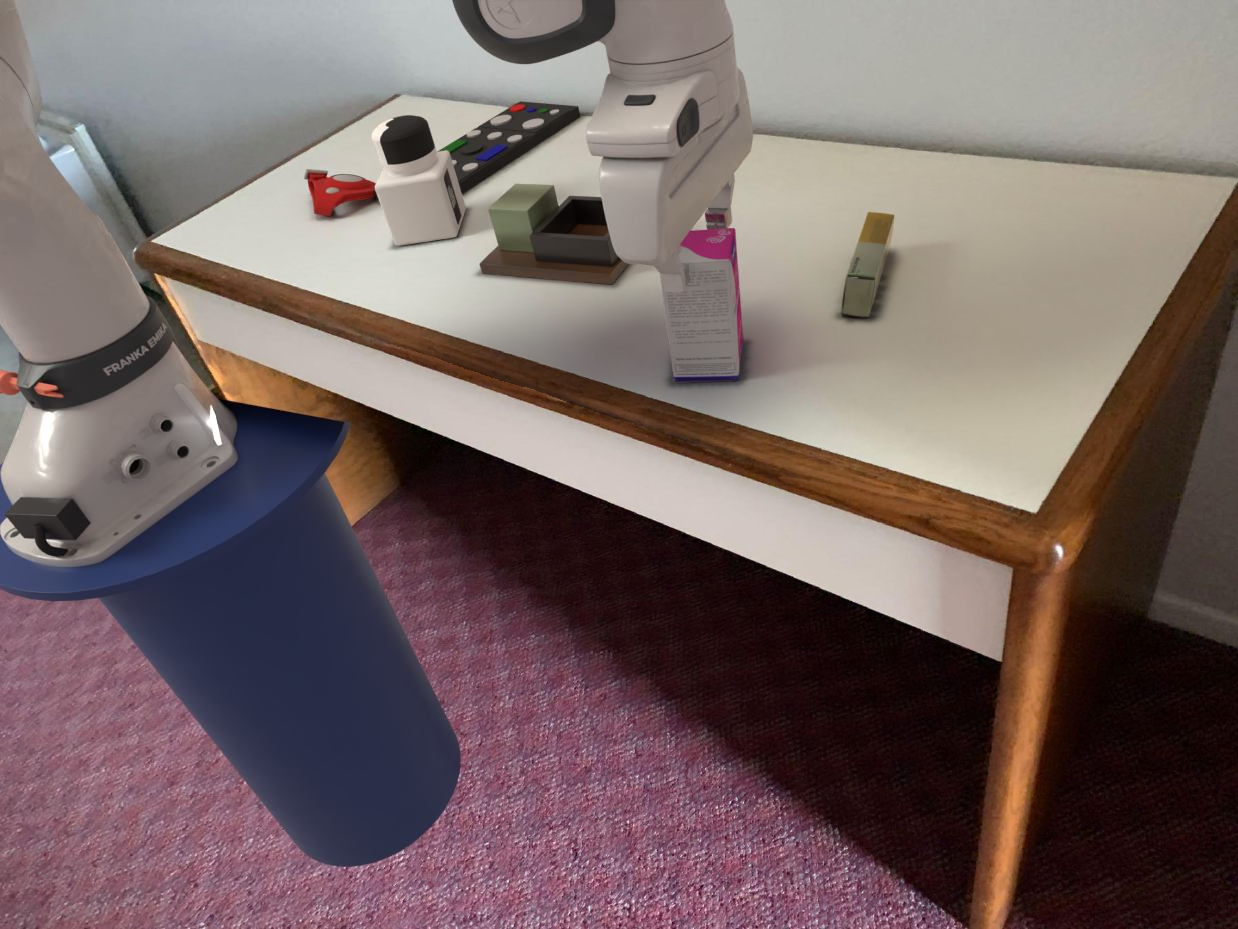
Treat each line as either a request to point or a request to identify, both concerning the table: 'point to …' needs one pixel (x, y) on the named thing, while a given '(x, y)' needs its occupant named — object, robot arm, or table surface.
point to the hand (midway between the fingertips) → (699, 257)
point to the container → (416, 183)
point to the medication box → (867, 265)
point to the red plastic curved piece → (336, 189)
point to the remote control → (505, 139)
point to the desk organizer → (551, 237)
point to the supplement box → (706, 310)
